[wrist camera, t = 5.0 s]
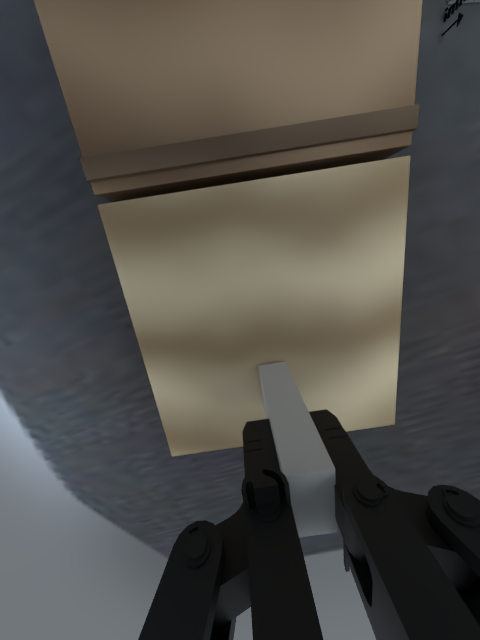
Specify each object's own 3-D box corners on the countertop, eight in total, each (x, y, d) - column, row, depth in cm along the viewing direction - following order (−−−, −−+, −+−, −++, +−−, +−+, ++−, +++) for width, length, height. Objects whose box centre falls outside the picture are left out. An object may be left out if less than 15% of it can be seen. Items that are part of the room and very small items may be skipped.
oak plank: (118, 211, 12) (97, 204, 10) (382, 169, 12) (410, 155, 10) (179, 432, 17) (172, 456, 15) (375, 404, 16) (394, 424, 15)
